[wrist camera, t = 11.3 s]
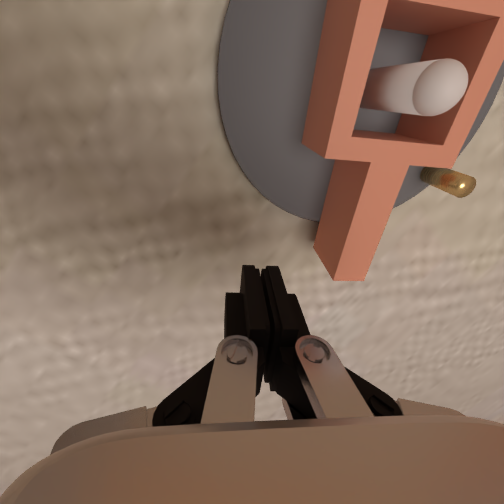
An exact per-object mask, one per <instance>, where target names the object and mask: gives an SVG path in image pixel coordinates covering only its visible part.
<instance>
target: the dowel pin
mask: <svg viewBox="0 0 504 504" xmlns="http://www.w3.org/2000/svg"><path fill="white" fill-rule="evenodd" d="M420 179H421V181H423V182H425V183H427V184H429V185H432V186H434V187H436V188H438V189H441V190H443V191H445V192H447V193H450V194H452V195H454V196H456V197H459V198H462V197H465V196H467V195H469V194H470V193H471V192H472V191H473V190H474V188H475V186H476V180H475V178H474V177H471V176H468V175H465V174H462V173H459V172H456V171H453V170H451V169H448V168H437V167H424V168H423V169H422V171H421V173H420Z"/></svg>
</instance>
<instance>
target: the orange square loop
mask: <svg viewBox="0 0 504 504" xmlns="http://www.w3.org/2000/svg"><path fill="white" fill-rule="evenodd" d="M381 28H385V29H392V30H398V31H404V32H410V33H417V34H423V35H429V36H428V39H427V42H426V45H425V48H424V51H423V54H422V56H421V59H420V62H423V61H430V60H437V59H445V58H450V59H455V60H457V61H459V62H461V63H462V64H463V65H464V66H465V68H466V70H467V73H468V85H467V88H466V91H465V93H464V95H463V96H462V98H461V99H460V101H459V102H458V103H457V104H456V105H455V106H454V107H452V108H451V109H450V110H448V111H446V112H444V113H442V114H439V115H436V116H421V115H413V114H405V113H402V114H401V117H400V120H399V123H398V126H397V129H396V132H395V134H394V133H384V132H374V131H364V130H354V126H355V122H356V118H357V114H358V111H359V107H360V103H361V100H362V96H363V92H364V89H365V85H366V81H367V77H368V74H369V70H370V66H371V63H372V59H373V55H374V51H375V48H376V44H377V40H378V37H379V33H380V29H381ZM503 60H504V0H327V5H326V11H325V16H324V22H323V27H322V33H321V38H320V44H319V49H318V55H317V60H316V66H315V71H314V77H313V83H312V88H311V94H310V99H309V105H308V110H307V116H306V121H305V127H304V132H303V138H302V144H303V145H305V146H306V147H308V148H309V149H311V150H312V151H314V152H316V153H317V154H319V155H320V156H322V157H323V158H326V159H335V162H334V166H333V170H332V174H331V178H330V182H329V186H328V190H327V194H326V198H325V202H324V206H323V210H322V214H321V218H320V222H319V226H318V230H317V234H316V238H315V242H314V246H313V248H314V249H315V251H316V253H317V254H318V256H319V258H320V259H321V261H322V263H323V264H324V266H325V268H326V269H327V271H328V273H329V274H330V276H331V278H332V279H333V281H364V279H365V277H366V274H367V272H368V269H369V266H370V264H371V261H372V259H373V256H374V254H375V251H376V249H377V246H378V244H379V241H380V239H381V236H382V234H383V231H384V229H385V226H386V223H387V221H388V218H389V216H390V213H391V211H392V208H393V206H394V203H395V201H396V198H397V196H398V193H399V191H400V188H401V186H402V183H403V180H404V178H405V175H406V173H407V170H408V168H409V165H412V166H425V167H437V168H450V169H452V167H453V165H454V163H455V161H456V158H457V156H458V154H459V152H460V150H461V148H462V146H463V144H464V142H465V140H466V138H467V135H468V133H469V131H470V129H471V127H472V125H473V123H474V121H475V119H476V117H477V115H478V113H479V110H480V108H481V106H482V104H483V102H484V100H485V98H486V96H487V94H488V92H489V90H490V87H491V85H492V83H493V81H494V79H495V77H496V75H497V73H498V71H499V69H500V67H501V64H502V62H503Z"/></svg>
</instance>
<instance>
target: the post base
mask: <svg viewBox="0 0 504 504" xmlns="http://www.w3.org/2000/svg"><path fill="white" fill-rule="evenodd" d="M326 5H327V0H230V3H229V6H228V10H227V13H226V16H225V21H224V26H223V31H222V36H221V42H220V50H219V62H218V95H219V102H220V109H221V116H222V120H223V124H224V128H225V132H226V136H227V139H228V141H229V144H230V146H231V149H232V151H233V154H234V156H235V158H236V160H237V162H238V163H239V165H240V167H241V169H242V171H243V172H244V173H245V175H246V176H247V178H248V179H249V180H250V182H251V183H252V184H253V185H254V186H255V187H256V188H257V190H258V191H259V192H260V193H261V194H262V195H263V196H264V197H266V198H267V199H268V200H270V201H271V202H272V203H273V204H275V205H276V206H278V207H280V208H281V209H283V210H285V211H287V212H288V213H291V214H293V215H296V216H298V217H301V218H304V219H308V220H312V221H318V222H320V218H321V214H322V210H323V206H324V202H325V198H326V194H327V190H328V186H329V182H330V178H331V174H332V170H333V166H334V162H335V159H326V158H323V157H322V156H320V155H319V154H317V153H316V152H314V151H312V150H311V149H309V148H308V147H306V146H305V145H303V144H302V138H303V132H304V127H305V121H306V116H307V110H308V105H309V99H310V94H311V88H312V83H313V77H314V71H315V66H316V60H317V55H318V49H319V44H320V38H321V33H322V27H323V22H324V16H325V11H326ZM428 36H429V35H423V34H417V33H410V32H404V31H398V30H392V29H385V28H381V29H380V33H379V37H378V40H377V44H376V48H375V51H374V55H373V59H372V63H371V66H370V70H369V74H368V77H367V81H366V85H365V89H364V92H363V96H362V100H361V103H360V107H359V111H358V114H357V118H356V122H355V126H354V130H364V131H374V132H384V133H394V134H395V132H396V129H397V126H398V123H399V120H400V117H401V114H402V113H405V114H413V115H421V116H436V115H439V114H442V113H444V112H446V111H448V110H450V109H451V108H452V107H454V106H455V105H456V104H457V103H458V102H459V101H460V99H461V98H462V96H463V95H464V93H465V91H466V88H467V85H468V73H467V70H466V68H465V66H464V65H463V64H462V63H461V62H459V61H457V60H455V59H450V58H445V59H437V60H430V61H423V62H420V59H421V56H422V54H423V51H424V48H425V45H426V42H427V39H428ZM503 77H504V60H503V62H502V64H501V67H500V69H499V71H498V73H497V75H496V77H495V79H494V81H493V83H492V85H491V87H490V90H489V92H488V94H487V96H486V98H485V100H484V102H483V104H482V106H481V108H480V110H479V113H478V115H477V117H476V119H475V121H474V123H473V125H472V127H471V129H470V131H469V133H468V135H467V138H466V140H465V142H464V144H463V146H462V148H461V150H460V152H459V154H458V156H459V155H460V153H461V152H462V151H463V150H464V148H465V147H466V146H467V145H468V143H469V142H470V141H471V139H472V138H473V136H474V134H475V133H476V131H477V130H478V128H479V127H480V125H481V124H482V122H483V120H484V118H485V117H486V115H487V113H488V111H489V109H490V107H491V106H492V104H493V101H494V99H495V97H496V95H497V92H498V90H499V88H500V86H501V83H502V80H503ZM458 156H457V157H458ZM424 167H425V166H412V165H409V168H408V170H407V173H406V175H405V178H404V180H403V183H402V186H401V188H400V191H399V193H398V196H397V198H396V201H395V203H394V206H393V208H395V207H397V206H399V205H401V204H403V203H404V202H406V201H407V200H409V199H411V198H412V197H414V196H415V195H417V194H418V193H419V192H421V191H422V190H423V189H425V188H426V187H427V186H429V184H427V183H425V182H423V181H421V179H420V173H421V171H422V169H423V168H424ZM393 208H392V209H393Z"/></svg>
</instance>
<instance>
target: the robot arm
mask: <svg viewBox="0 0 504 504" xmlns="http://www.w3.org/2000/svg"><path fill="white" fill-rule="evenodd" d="M263 374H264V381H265V383H269V385H270V391H276V393H277V394H279V395H280V396H281V397H282V403H283V407H284V410H285V413H286V416H287V419H288V420H275V421H254V414H255V397H256V396H257V395H258V394H259V393H260V387H261V382H262V377H263ZM0 504H504V424H501V423H498V422H494V421H490V420H485V419H481V418H475V417H467V416H465V415H463V414H462V413H460V412H458V411H456V410H453V409H450V408H445V407H440V406H435V405H430V404H425V403H420V402H415V401H410V400H405V399H400V398H398V399H397V401H395V400H393V398H391V397H390V396H389V395H387V394H386V393H385V392H383V391H381V390H380V389H378V388H377V387H375V386H374V385H372V384H371V383H369V382H367V381H366V380H364V379H363V378H361V377H360V376H358V375H357V374H355V373H353V372H352V371H350V370H349V369H347V368H346V367H344V366H343V364H342V363H341V361H340V359H339V358H338V356H337V354H336V353H335V351H334V350H333V348H332V347H331V345H330V344H329V343H328V342H327V341H325V340H324V339H322V338H320V337H317V336H313V335H310V332H309V330H308V327H307V324H306V321H305V319H304V316H303V313H302V310H301V308H300V305H299V302H298V299H297V297H296V295H295V294H287V291H286V288H285V285H284V282H283V279H282V276H281V272H280V269H279V267H278V266H266V269H262V271H261V277H260V272H259V269H255V266H254V265H243V266H242V275H241V286H240V293H226V297H225V319H224V339H223V340H222V341H221V342H220V343H219V345H218V347H217V351H216V356H215V358H214V359H213V360H212V361H210V362H209V363H208V364H207V365H206V366H204V367H203V368H202V369H201V370H199V371H198V372H197V373H196V374H195V375H193V376H192V377H191V378H190V379H188V380H187V381H186V382H185V383H184V384H182V385H181V386H180V387H179V388H177V389H176V390H175V391H174V392H172V393H171V394H170V395H169V396H168V397H166V398H165V399H164V400H163V401H162V402H161V403H160V404H159V405H158V406H157V407H153V408H149V409H147V408H146V406H144V407H140V408H136V409H132V410H128V411H125V412H121V413H117V414H113V415H109V416H105V417H101V418H97V419H93V420H89V421H85V422H81V423H79V424H77V425H74V426H72V427H71V428H69V429H68V430H67V431H65V432H64V433H63V434H62V435H61V436H60V437H59V439H58V440H57V441H56V442H55V445H54V447H53V449H52V451H51V454H50V456H48V457H46V458H44V459H42V460H41V461H39V462H37V463H36V464H35V465H33V466H32V467H30V468H29V469H27V470H26V471H25V472H24V473H22V474H21V475H20V476H19V477H18V478H17V479H16V480H15V481H14V482H13V483H12V484H11V485H10V486H9V487H8V488H7V489H6V490H5V492H4V493H3V494H2V495H1V497H0Z"/></svg>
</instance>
